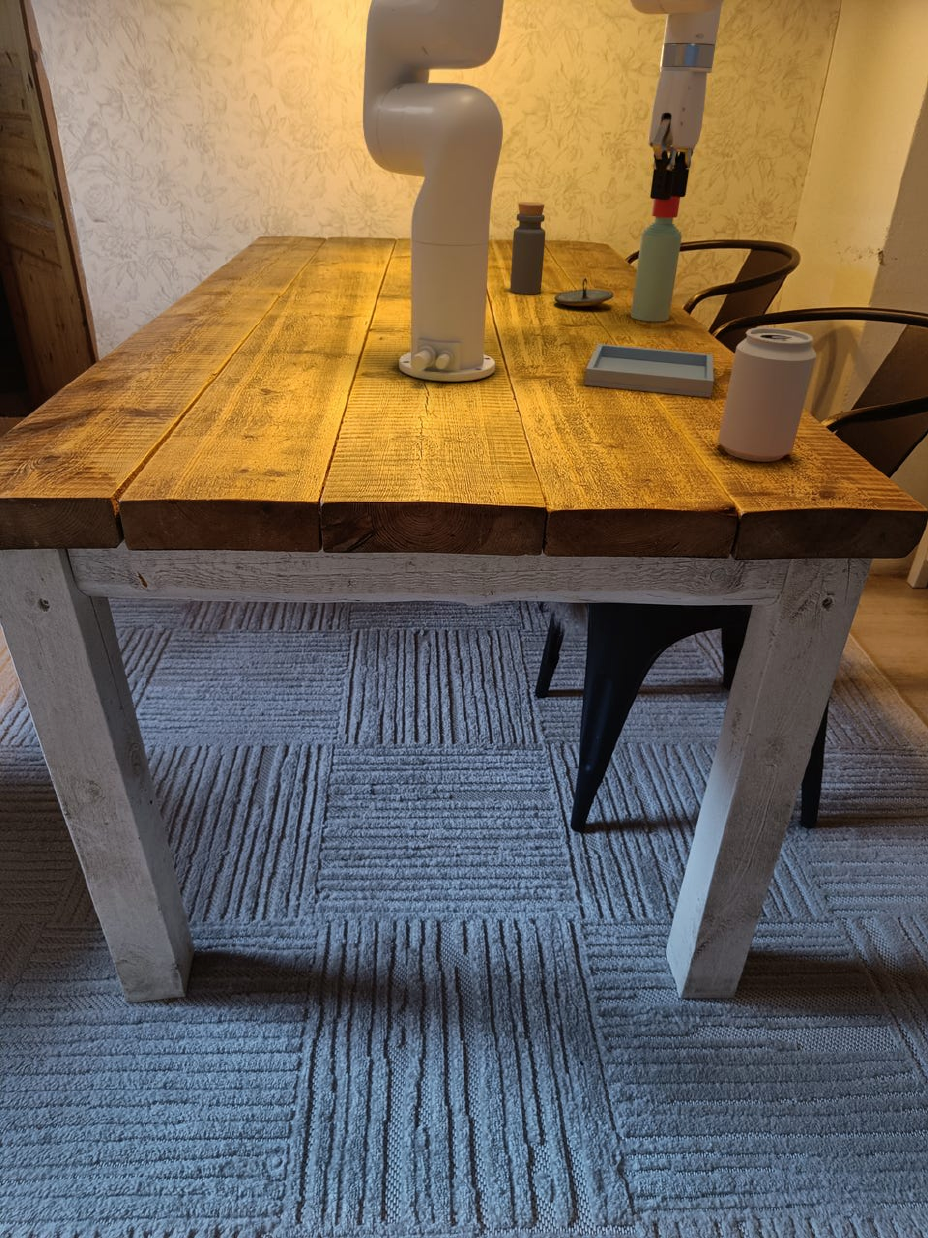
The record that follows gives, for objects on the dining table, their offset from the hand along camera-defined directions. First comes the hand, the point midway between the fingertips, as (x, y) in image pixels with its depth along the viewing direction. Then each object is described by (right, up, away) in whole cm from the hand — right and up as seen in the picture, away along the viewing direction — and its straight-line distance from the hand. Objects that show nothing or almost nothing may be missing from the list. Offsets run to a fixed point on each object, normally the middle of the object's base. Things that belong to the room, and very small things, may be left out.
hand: (667, 196), depth 132 cm
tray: (-8, -35, -22) cm, 43 cm away
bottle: (-21, -5, +26) cm, 33 cm away
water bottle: (-1, -16, +9) cm, 18 cm away
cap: (0, -2, +1) cm, 3 cm away
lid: (-11, -12, +16) cm, 23 cm away
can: (-2, -50, -45) cm, 67 cm away
